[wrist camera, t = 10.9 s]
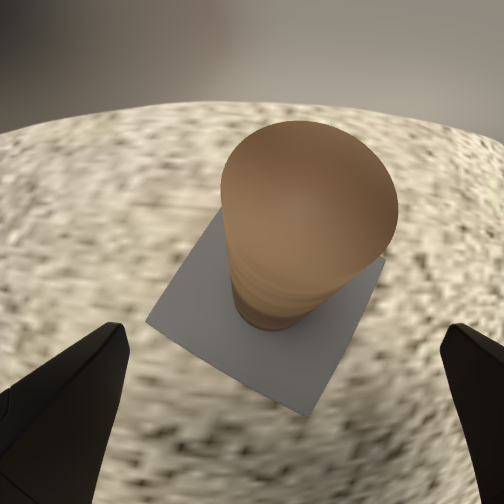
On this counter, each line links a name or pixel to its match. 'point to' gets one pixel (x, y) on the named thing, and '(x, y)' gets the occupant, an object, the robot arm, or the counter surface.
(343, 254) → the pepper mill
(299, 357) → the mat
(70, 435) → the robot arm
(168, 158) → the counter surface
